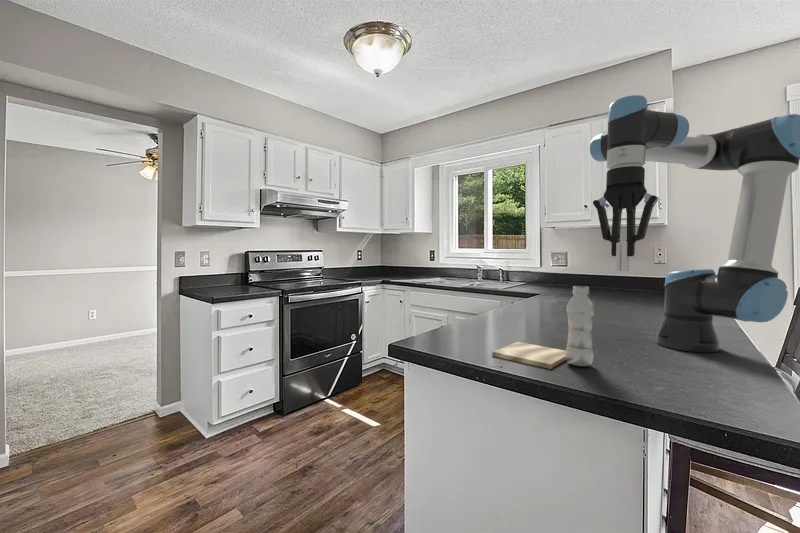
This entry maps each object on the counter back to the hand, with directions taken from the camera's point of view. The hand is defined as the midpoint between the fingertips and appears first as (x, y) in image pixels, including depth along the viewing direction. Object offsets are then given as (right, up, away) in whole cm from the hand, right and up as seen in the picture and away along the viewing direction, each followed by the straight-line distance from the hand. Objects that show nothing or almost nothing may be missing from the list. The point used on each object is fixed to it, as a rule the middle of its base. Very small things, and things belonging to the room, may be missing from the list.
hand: (622, 270), depth 86 cm
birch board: (-15, -24, +15) cm, 32 cm away
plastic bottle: (-6, -24, +7) cm, 26 cm away
